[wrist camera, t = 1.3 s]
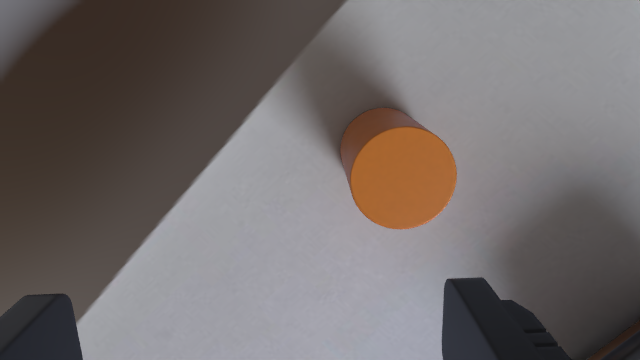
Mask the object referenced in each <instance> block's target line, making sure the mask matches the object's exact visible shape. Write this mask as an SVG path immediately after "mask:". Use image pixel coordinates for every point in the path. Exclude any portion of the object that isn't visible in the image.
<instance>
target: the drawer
mask: <svg viewBox="0 0 640 360" xmlns="http://www.w3.org/2000/svg"><path fill="white" fill-rule="evenodd" d="M587 360H640V320H639V321H638V322H637V323H635V324H634V325H632V326H631V327H630V328H628V329H627V330H626V331H624V332H623V333H622V334H620V335H619V336H618V337H616V338H615V339H614V340H612V341H611V342H610V343H608V344H607V345H606V346H604V347H603V348H602V349H600V350H599V351H598V352H596V353H595V354H594V355H592V356H591V357H590V358H588V359H587Z"/></svg>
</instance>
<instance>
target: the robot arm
mask: <svg viewBox="0 0 640 360" xmlns="http://www.w3.org/2000/svg"><path fill="white" fill-rule="evenodd" d="M442 354H443V360H571V359H570V357H569V356H568V355H567V354H566V353H565V351H564V350H563V349H562V348H561V347H560V346H558V345H557V342H556V341H555V339H554V338H553V337H552V336H551V335H550V333H549V332H546V329H545V327H544V326H543V325H542V324H541V323H540V321H539V320H538V319H537V318H536V317H535V315H534V314H533V313H532V312H530V311H529V310H527V309H525V308H524V307H522V306H521V305H519V304H517V303H516V302H514V301H512V300H500V299H499V297H498V296H497V295H496V293H495V292H494V291H493V289H492V288H491V287H490V285H489V284H488V283H487V281H486V280H485V279H484V278H482V277H480V278H455V279H447V280H446V282H445V287H444V304H443V327H442ZM0 360H83V358H82V352H81V347H80V342H79V337H78V332H77V327H76V322H75V316H74V311H73V307H72V302H71V300H70V298H69V297H68V296H67V295H66V294H43V295H27V296H24V297H23V298H21V299H20V300H19V301H18V302H17V303H16V304H14V305H13V306H12V307H11V308H10V309H9V310H8V311H7V312H5V313H4V314H3V315H2V316H1V317H0Z"/></svg>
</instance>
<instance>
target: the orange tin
mask: <svg viewBox="0 0 640 360" xmlns="http://www.w3.org/2000/svg"><path fill="white" fill-rule="evenodd" d="M340 152H341V160H342V163H343V166H344V170H345V173H346V176H347V180H348V183H349V186H350V190H351V193H352V196H353V199H354V201H355V203H356V205H357V207H358V208H359V210H360V211H361V212H362V213H363V214H364V215H365V216H366V217H367V218H368V219H370V220H371V221H373V222H374V223H376V224H378V225H381V226H384V227H387V228H392V229H409V228H414V227H418V226H421V225H423V224H425V223H427V222H429V221H430V220H432V219H433V218H435V217H436V216H437V215H438V214H439V213H441V212H442V211H443V209H444V208H445V207H446V206H447V204H448V202H449V201H450V199H451V197H452V195H453V192H454V189H455V185H456V176H457V172H456V165H455V161H454V158H453V155H452V153H451V151H450V150H449V148H448V147H447V145H446V144H445V143H444V142H443V141H442V140H441V139H440V138H439V137H438V136H436V135H435V134H433V133H432V132H431V131H429V130H428V129H426V128H425V127H423V126H422V125H421V124H419V123H418V122H416V121H415V120H413V119H412V118H411V117H409V116H408V115H406V114H405V113H403V112H401V111H398V110H396V109H391V108H376V109H372V110H369V111H366V112H364V113H362V114H361V115H359V116H358V117H356V118H355V119H354V120H353V121H352V122H351V123H350V124H349V126H348V127H347V129H346V131H345V132H344V135H343V137H342V141H341V148H340Z"/></svg>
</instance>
